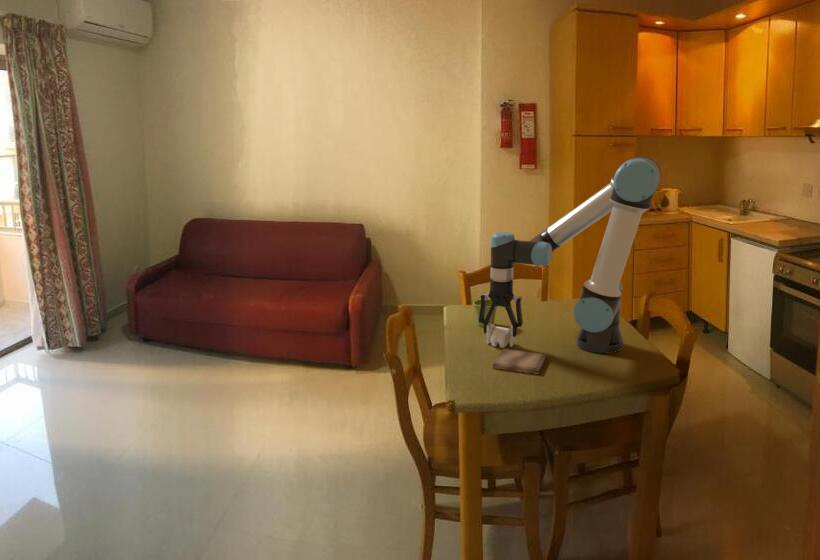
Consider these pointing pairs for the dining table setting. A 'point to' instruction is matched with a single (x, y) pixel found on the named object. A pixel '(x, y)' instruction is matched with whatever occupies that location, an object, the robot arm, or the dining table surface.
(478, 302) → the plant pot
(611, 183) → the robot arm
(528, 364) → the folded cloth
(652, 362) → the dining table surface
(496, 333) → the elephant figurine
